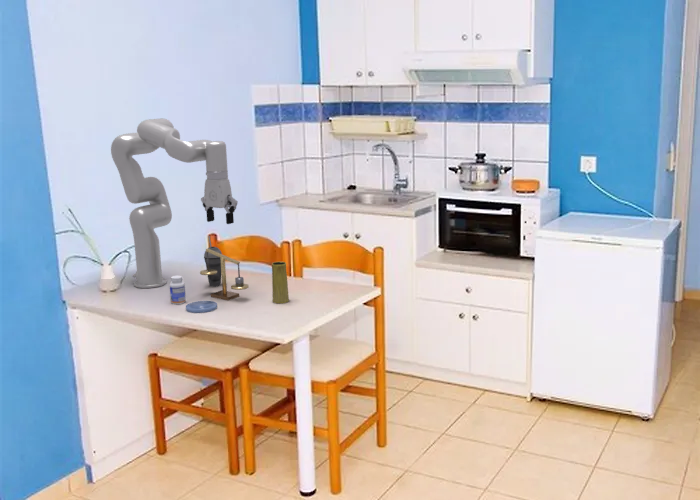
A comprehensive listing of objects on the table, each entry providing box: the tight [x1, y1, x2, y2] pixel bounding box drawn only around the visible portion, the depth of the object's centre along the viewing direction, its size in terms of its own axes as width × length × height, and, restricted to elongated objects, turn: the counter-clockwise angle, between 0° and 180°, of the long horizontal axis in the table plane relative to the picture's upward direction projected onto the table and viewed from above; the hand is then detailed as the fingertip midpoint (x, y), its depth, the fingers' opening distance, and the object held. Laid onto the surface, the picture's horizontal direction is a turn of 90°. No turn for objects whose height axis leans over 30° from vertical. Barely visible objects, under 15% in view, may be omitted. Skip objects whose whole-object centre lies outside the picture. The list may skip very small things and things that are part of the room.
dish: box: [185, 300, 218, 314], centre depth 273 cm, size 11×11×1 cm
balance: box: [199, 248, 249, 301], centre depth 285 cm, size 22×6×18 cm, turn 55°
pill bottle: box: [169, 275, 187, 305], centre depth 280 cm, size 5×5×10 cm
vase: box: [271, 261, 290, 304], centre depth 278 cm, size 6×6×14 cm
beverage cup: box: [203, 235, 223, 288], centre depth 301 cm, size 7×7×20 cm
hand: (220, 222), depth 280 cm, fingers open, 9 cm apart
